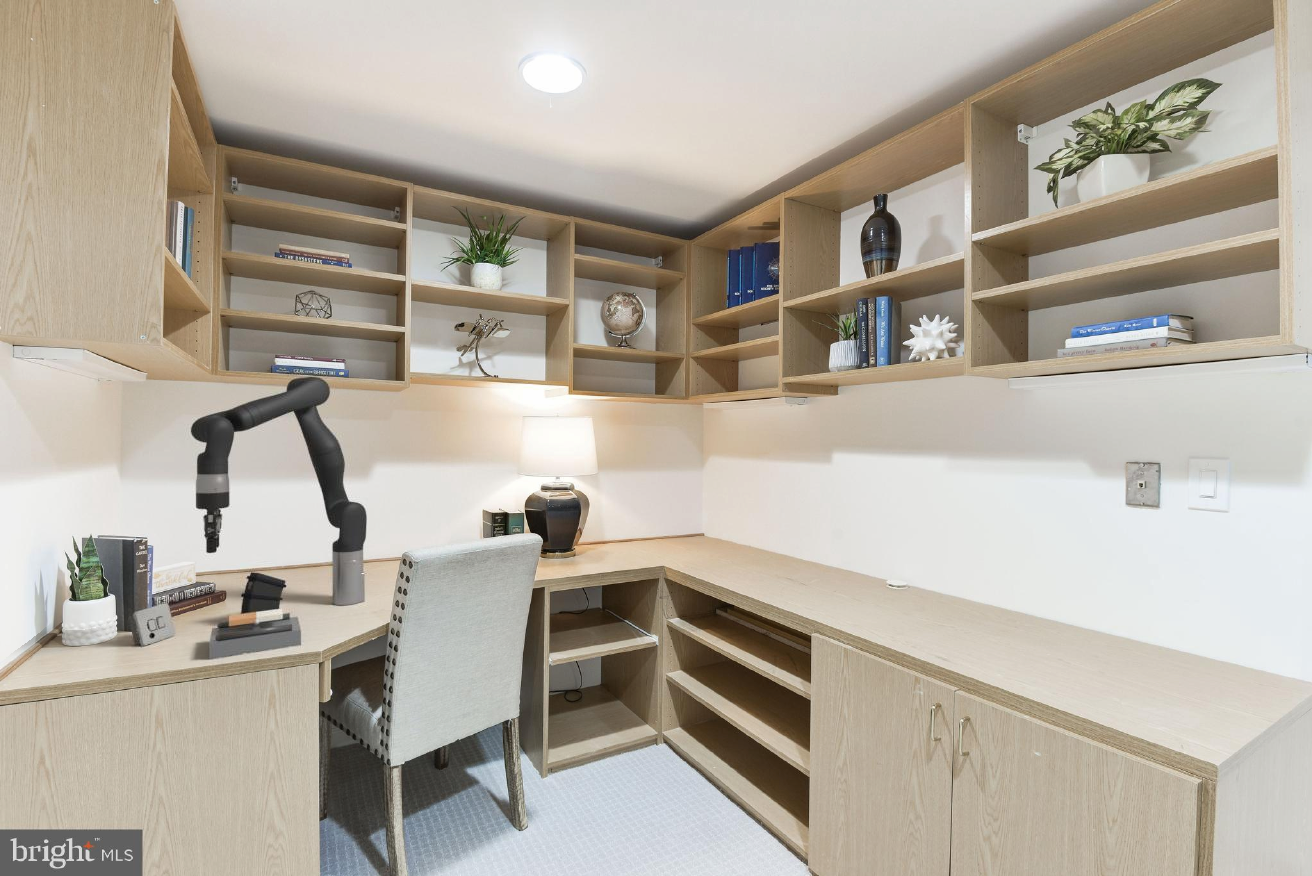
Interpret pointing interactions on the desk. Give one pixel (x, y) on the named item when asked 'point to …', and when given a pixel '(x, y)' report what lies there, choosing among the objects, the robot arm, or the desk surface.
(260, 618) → the breaker rocker
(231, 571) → the desk surface
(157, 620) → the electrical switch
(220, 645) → the grey low boxy piece
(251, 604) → the magazine
